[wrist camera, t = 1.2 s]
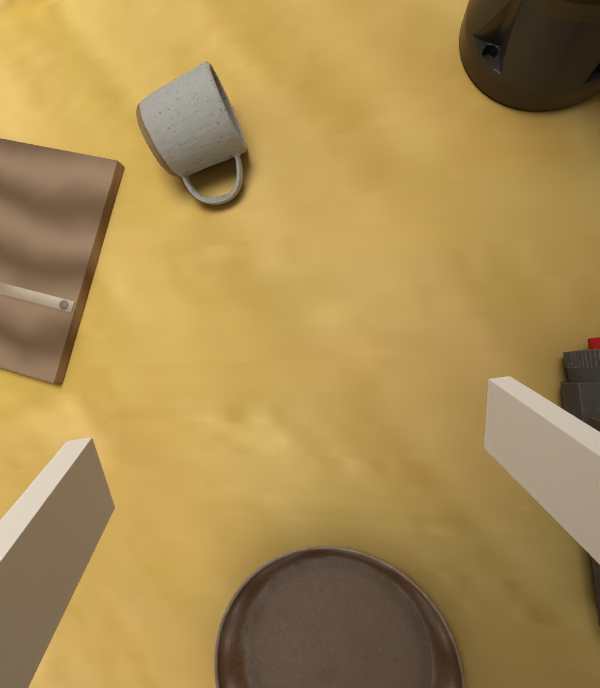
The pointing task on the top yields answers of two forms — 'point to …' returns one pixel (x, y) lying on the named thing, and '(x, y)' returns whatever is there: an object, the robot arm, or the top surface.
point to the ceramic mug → (193, 128)
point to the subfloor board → (48, 250)
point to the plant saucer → (333, 627)
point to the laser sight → (584, 404)
